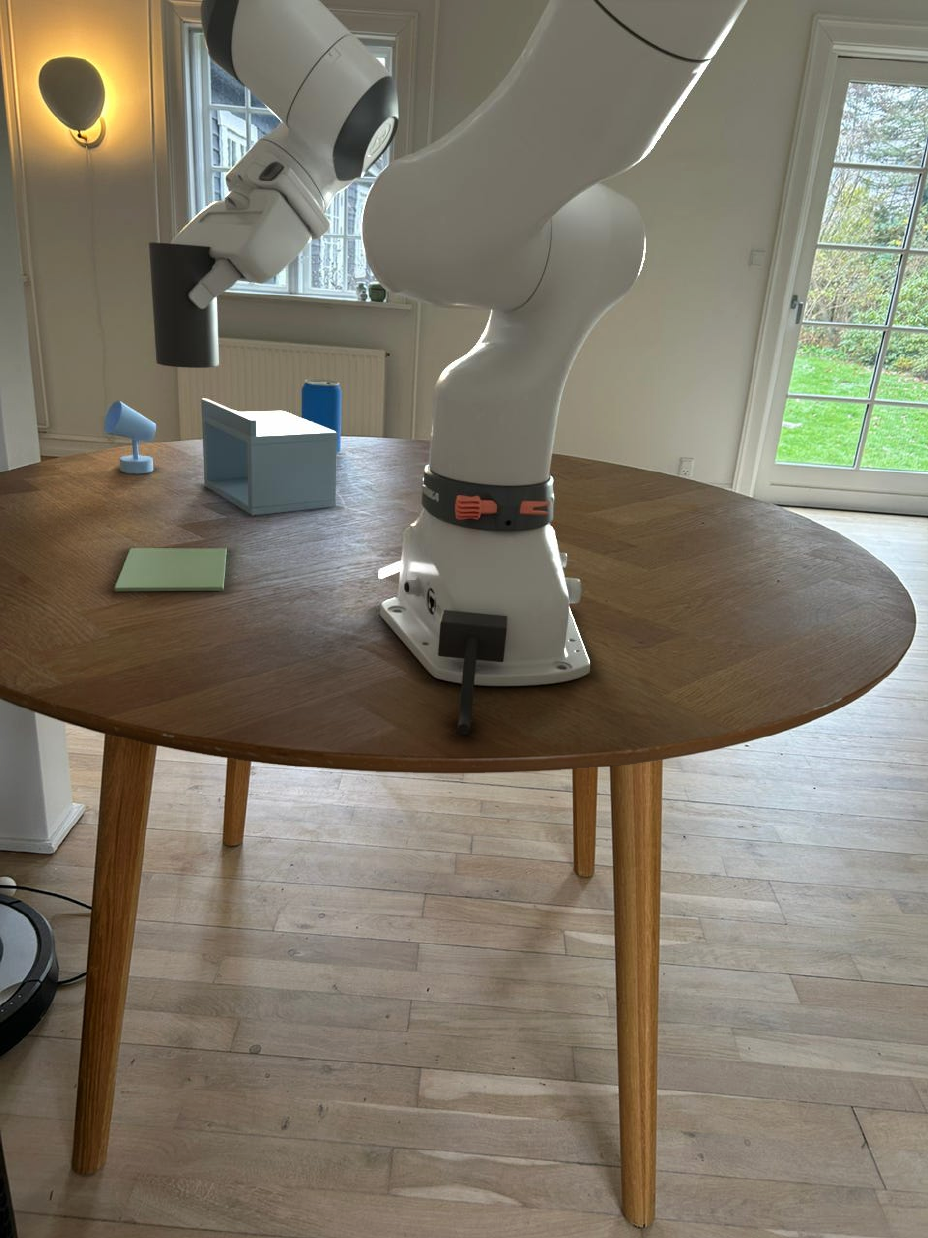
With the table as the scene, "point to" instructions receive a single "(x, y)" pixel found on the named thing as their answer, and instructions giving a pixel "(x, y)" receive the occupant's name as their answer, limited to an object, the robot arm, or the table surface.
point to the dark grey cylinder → (182, 307)
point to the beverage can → (323, 404)
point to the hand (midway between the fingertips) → (179, 300)
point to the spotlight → (130, 435)
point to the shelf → (268, 460)
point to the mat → (173, 569)
